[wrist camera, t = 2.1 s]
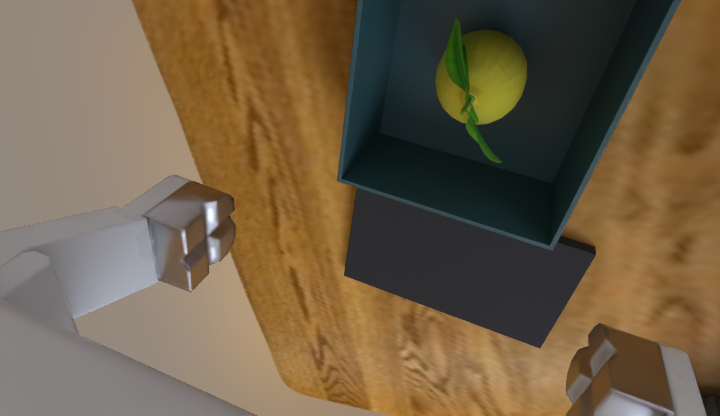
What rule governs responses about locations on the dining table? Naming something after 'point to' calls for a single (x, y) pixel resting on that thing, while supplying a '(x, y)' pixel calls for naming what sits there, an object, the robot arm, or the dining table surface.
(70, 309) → the robot arm
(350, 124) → the box
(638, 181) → the dining table surface
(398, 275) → the mat
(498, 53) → the lemon
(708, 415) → the flashlight
